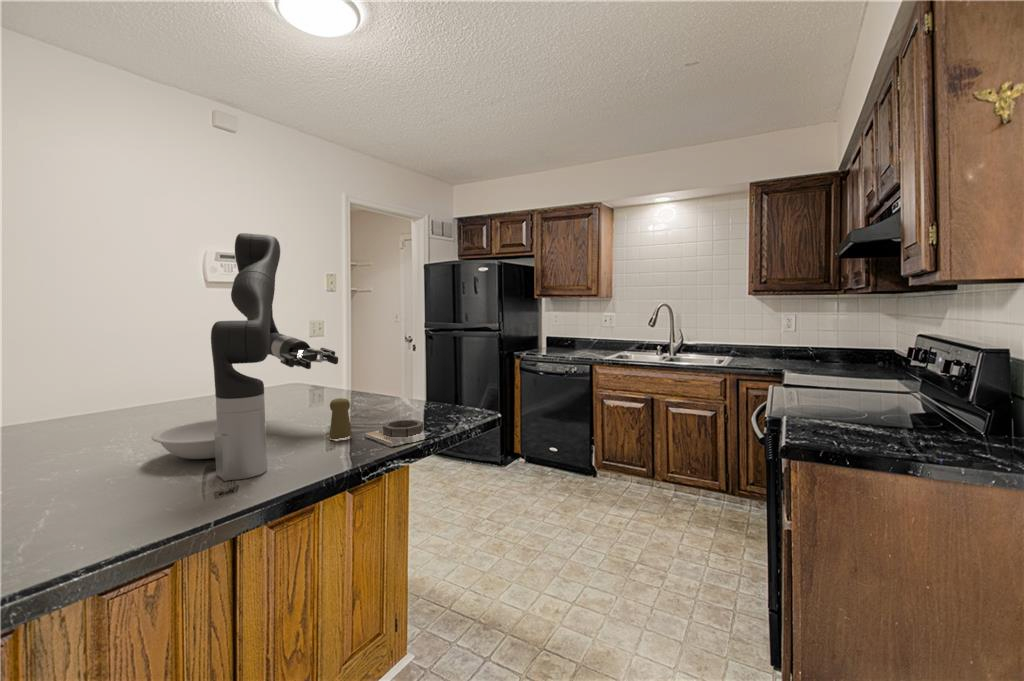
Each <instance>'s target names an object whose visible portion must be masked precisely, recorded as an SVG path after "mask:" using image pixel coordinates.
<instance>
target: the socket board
mask: <svg viewBox="0 0 1024 681" xmlns="http://www.w3.org/2000/svg"><path fill="white" fill-rule="evenodd" d="M423 426H424V421H420V420H417V419H398V420H392V421H387V422H385V423H384V424H383V425H382V430H383V433H382V434H383V435H386V436H389V437H408V436H413V435H416V434H420V433H421V432H422V431H423ZM365 434H366V435H369V436H372V437H375V438H378V439H381V440H384V441H386V442H389V443H393V442H392V441H390V440H391V439H390V440H388V439H387V440H386V439H384V436H383V435H382V434H381V433H379V430H375V431H374V430H373V431H370V432H365V433H364V435H365Z"/></svg>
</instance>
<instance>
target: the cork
mask: <svg viewBox="0 0 1024 681" xmlns="http://www.w3.org/2000/svg"><path fill="white" fill-rule="evenodd" d="M350 402H351V401H349V399H347V398H343V397H341V398H334V399H332V400H331V401H330V403H329V407H330V408H329V410H331V418H330V428H329V437H330V438H331V439H339V438H345V437H348V436H350V435H352V436H353V433H352V426H351V422H350V416H349V414H350V413H349V409H350V407H351V403H350ZM329 437H328V438H329Z"/></svg>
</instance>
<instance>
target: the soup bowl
mask: <svg viewBox="0 0 1024 681" xmlns="http://www.w3.org/2000/svg"><path fill="white" fill-rule="evenodd" d="M265 425H266V427H267V426H268V423H267V422H266V421H265ZM215 431H217V418H212V419H204V420H197V421H191V422H185V423H180V424H177V425H172V426H169V427H165V428H162V429H159V430H158V431H156V432H154V433H153V434H152V435H151V441H152V442H156V443H159V444H160V445H161V446H162V447H163V449H165V450H166V451H167V452H169V453H170V454H172V455H174V456H177V457H178V458H183V459H189V460H205V459H216V458H215V437H214V432H215Z"/></svg>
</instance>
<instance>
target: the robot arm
mask: <svg viewBox="0 0 1024 681" xmlns="http://www.w3.org/2000/svg"><path fill="white" fill-rule="evenodd" d="M279 242H280V241H279V240H278V238H276V237H275V236H272V235H269V234H259V233H258V234H257V233H244V232H243V233H238V235H237V236H236V238H235V243H234V256H235V263H236V266H237V271H238V273H237V274H236V276H235V277H234V280H233V284H232V288H231V292H230V298H231V299H230V300H231V302H232V303H233V306H234V307H235V308H236V309H237V310H238V311H239V312H240V313H241V314H242V315H243V316H244V317H246V320H220V321H219V320H218V321H216V322H214V324H213V325H212V327H211V332H210V342H211V343H210V345H211V346H210V347H211V355H212V363H213V375H214V391H215V393H214V394H215V410H216V411H215V412H216V419H217V431H215V432H214V437H215V458H214V459H215V474H216V476H218V477H219V478H220V479H221V480H222V481H224V482H226V481H231V480H232V481H236V480H242V479H243V480H244V479H245V480H246V479H251V478H254V477H257V476H258V477H259V476H260V475H262V474H264V473H266V472H267V471H268V457H267V434H266V433H267V430H266V428H267V426H266V425H265V422H266V407H265V406H266V405H265V402H266V401H265V385H264V384H265V383H264V381H263V380H261V379H259V378H256V377H253V376H250V375H249V376H248V375H245V374H243V373H241V372H239V371H237V370H236V369H235V368H234V366H233V364H234V365H236V364H255V363H261V362H263V361H265V360H266V359H267V357H268V355H270V356H273V357H275V358H277V359H279V360H280V364H282V365H285V366H287V367H288V368H294V367H295V366H296V367H298V368H300V367H302V368H304V369H306V370H311V369H312V362H313V363H322V362H328V363H330V364H333V365H338V364H339V357H338V356H336V351H334V350H331V349H328V348H326V347H320V349H314V348H313V347H311V346H310V345H309V344H308V342H306V341H304V340H302V339H298V338H295V337H293V336H290V335H285V334H283V333H280V332H279V330H278V328H277V326H276V323H275V320H274V316H273V315H274V314H273V303H274V298H275V290H276V288H275V287H276V274H277V270H278V266H279V262H280V258H281V245H280V243H279ZM318 356H319V358H318Z"/></svg>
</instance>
